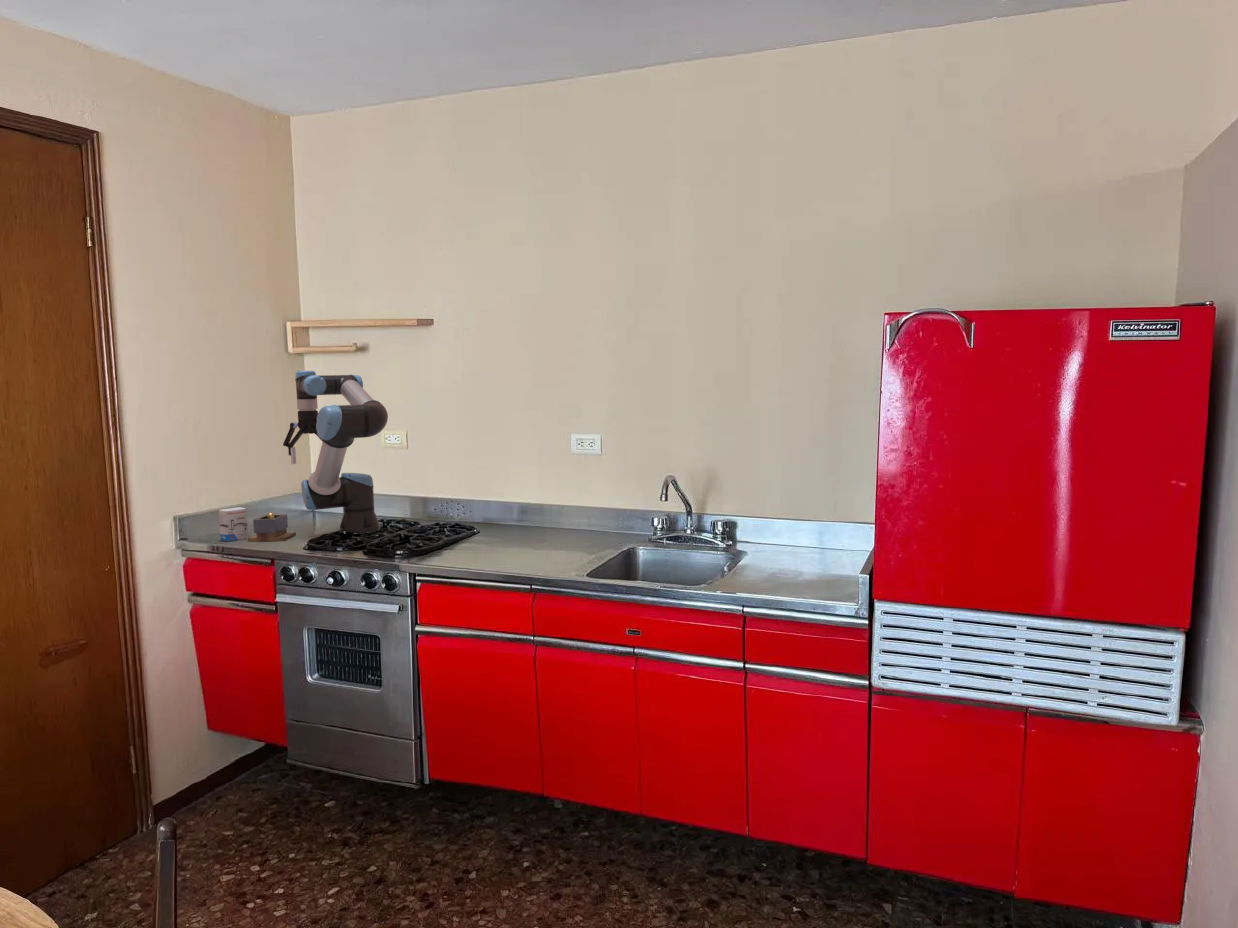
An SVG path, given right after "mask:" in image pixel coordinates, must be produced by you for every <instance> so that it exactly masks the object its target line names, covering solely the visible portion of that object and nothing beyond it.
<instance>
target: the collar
mask: <svg viewBox="0 0 1238 928" xmlns="http://www.w3.org/2000/svg"><path fill="white" fill-rule="evenodd" d="M285 528H286V529H288V528H289V522H288V514H274V519H267V514H266V515H262V516H259V517H258V518H254V519H253V533H254V534H257V533H276V532H278V531H280V530H283V529H285Z"/></svg>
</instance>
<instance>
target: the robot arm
mask: <svg viewBox="0 0 1238 928" xmlns="http://www.w3.org/2000/svg"><path fill="white" fill-rule="evenodd" d="M294 380H295V389H296V407H297V408H296V409H297V420H298V422H293V421H292V422H290V424H289V430H288V431H287V434H286V436H285V438H284V441H283V443H282V446H284V447H286V448H288V449H287V450H288V456H290V463H291V465H296V464H297V453H296V447H294V446H295V445H296V443H297V442H298V440H299V439H300V438H301V437H302V435H307V434H310V435H311V434H314V435H315V436H317V437H318V439H320V441H322V443H321V447H320V450H319V454H318V457H317V458H318V459H317V462H316V467H315V470H314V472H312V473H311V474H310V475H309V477H308V479H306V478H305V479H304V480H303V479H302V481H301V483H300V485H301V494H302V499H303V503H304V506H305V508H306V510H309V511H319V510H326V509H327V510H328V509H336V508H342V509H343V511H342V512H343V513H342V514H343V515H342V518H341V521H340V524H339V533H340V532H341V531H347V532H354V533H366V532H372V531H378V532H380V531H381V524H380V522H379V520H378V516H377V514H376V512H375V497H374V495H375V494H374V481H373V480H374V479H373V477H372V476H371V475H369V474H368V473H367V474H366V473H358V472H357V473H356V472H341V470H342V467H343V464H344V461H345V460H344V459H345V456H346V452H347V450H348V448H349V447H351V445H353V443H354V441H355V439H361V438H364V439H365V438H370V437H373V436H376V435H378V434H379V433H381V432H382V431H383V430H384V429H385V427H386V426H387V423H388V418H389V414H388V411H387V409H386V407H385V406H384V405H383V403H381V402H380V401H378V400H375V399H374V398H373V397H372V396H371V395H370V394H369V393H368V392H367V391H366V390H365V389H364V382H363V378H362V376H361V375H358V374H338V375H337V374H334V375H331V374H329V375H328V374H327V375H325V374H324V375H317V374H316V371H315V370H297V371H295V379H294ZM331 395H332V396H337V395H339V396H341V395H342V396H343V398H345V400H346V401H347V402H348V403H349V404H346V405H345V404H343V405H340V404H339V405H336V404H332V405H325V406H323V407H321V408H320V409H319V411H318V410H317V409H318V406H319V405H318V396H331ZM296 428H298V429H299V430H298V431H297V432H296V434H295V436H293V435H294V432H295V430H296ZM379 530H380V531H379Z"/></svg>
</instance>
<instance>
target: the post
mask: <svg viewBox="0 0 1238 928" xmlns="http://www.w3.org/2000/svg"><path fill="white" fill-rule="evenodd" d="M266 515H267V519H274V515H275V512H267V513H266Z"/></svg>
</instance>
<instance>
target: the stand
mask: <svg viewBox="0 0 1238 928" xmlns="http://www.w3.org/2000/svg"><path fill="white" fill-rule="evenodd" d="M287 529H288V528H285V529H283V530H280V531H278V532H276V533H255V534H254V535H251V536H250V537H249V536H248V538H247V542H283V541H284V542H285V541H288V540H289V539H291V538H294V537H296V536H297V534H296V533H297V532H287V531H288V530H287Z"/></svg>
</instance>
